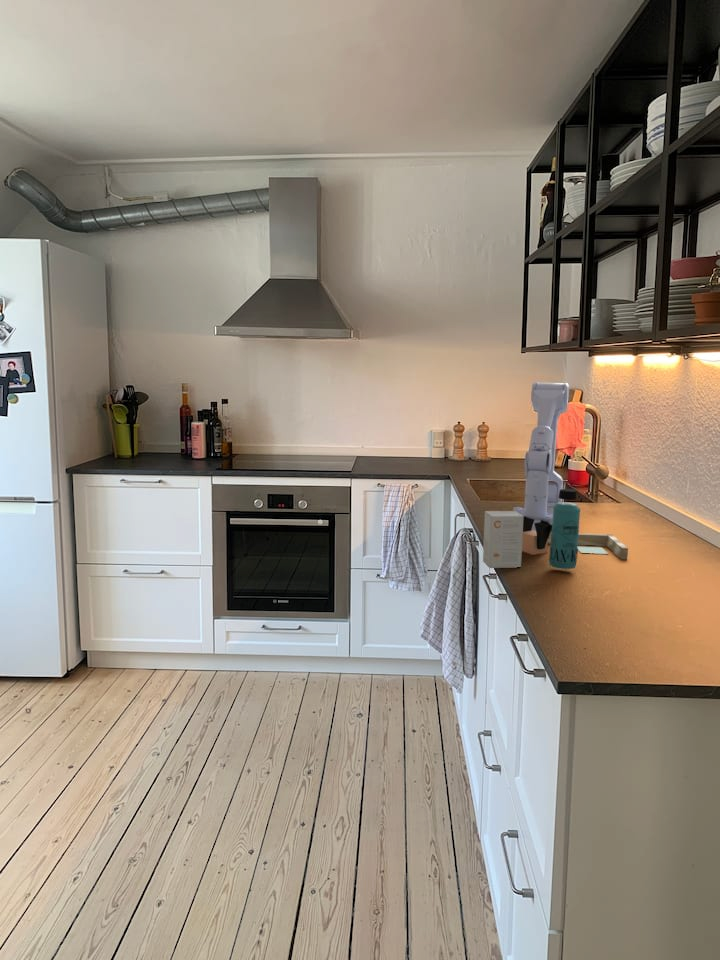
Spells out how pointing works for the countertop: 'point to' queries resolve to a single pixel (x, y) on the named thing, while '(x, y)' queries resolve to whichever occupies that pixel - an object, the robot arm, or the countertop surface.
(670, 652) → the countertop surface
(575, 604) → the countertop surface
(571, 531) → the beverage bottle
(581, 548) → the pad
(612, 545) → the l-shaped wall
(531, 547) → the cube
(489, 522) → the small box
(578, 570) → the countertop surface
